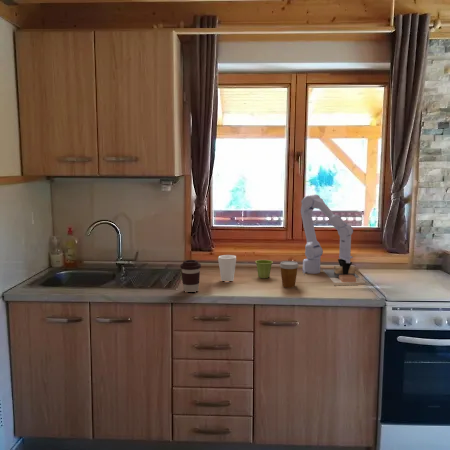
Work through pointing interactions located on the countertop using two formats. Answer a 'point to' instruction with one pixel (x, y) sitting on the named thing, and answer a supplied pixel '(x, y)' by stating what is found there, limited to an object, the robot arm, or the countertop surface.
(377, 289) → the countertop surface
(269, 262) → the plant pot
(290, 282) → the disposable coffee cup
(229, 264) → the foam cup
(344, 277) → the tile
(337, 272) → the block
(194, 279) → the coffee cup
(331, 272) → the board
